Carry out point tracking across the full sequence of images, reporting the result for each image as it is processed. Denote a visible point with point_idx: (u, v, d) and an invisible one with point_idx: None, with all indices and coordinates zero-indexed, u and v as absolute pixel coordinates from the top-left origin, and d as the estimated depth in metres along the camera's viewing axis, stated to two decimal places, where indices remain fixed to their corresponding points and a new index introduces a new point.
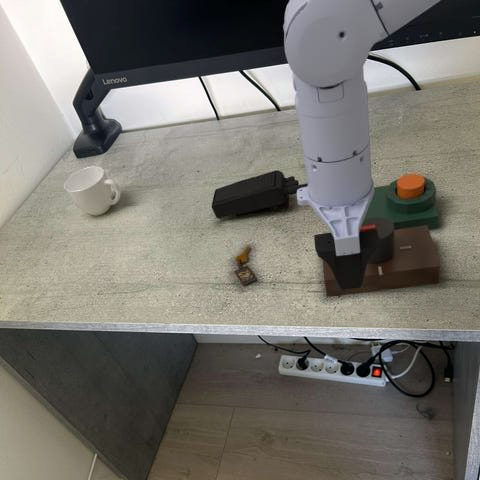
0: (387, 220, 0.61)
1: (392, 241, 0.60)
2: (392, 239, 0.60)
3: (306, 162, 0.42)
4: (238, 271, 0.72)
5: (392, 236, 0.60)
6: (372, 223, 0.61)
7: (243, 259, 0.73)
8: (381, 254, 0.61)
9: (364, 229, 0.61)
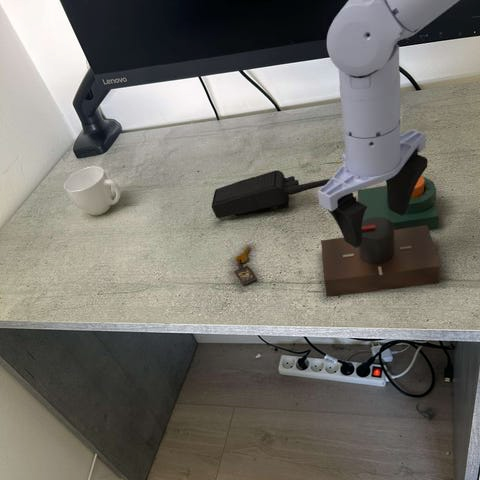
0: (387, 220, 0.61)
1: (392, 241, 0.60)
2: (392, 239, 0.60)
3: None
4: (238, 271, 0.72)
5: (392, 236, 0.60)
6: (372, 223, 0.61)
7: (243, 259, 0.73)
8: (381, 254, 0.61)
9: (364, 229, 0.61)
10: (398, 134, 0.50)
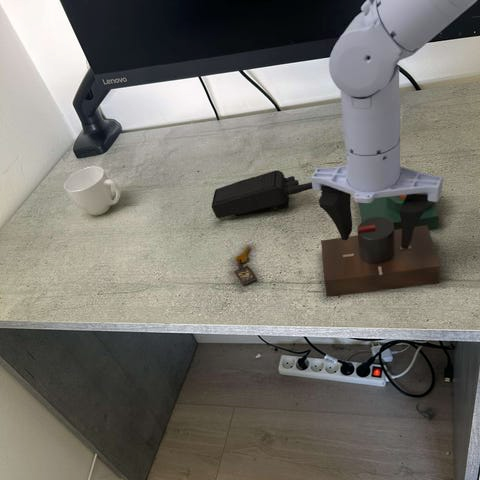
0: (387, 220, 0.61)
1: (392, 241, 0.60)
2: (392, 239, 0.60)
3: (374, 160, 0.51)
4: (238, 271, 0.72)
5: (392, 236, 0.60)
6: (372, 223, 0.61)
7: (243, 259, 0.73)
8: (381, 254, 0.61)
9: (364, 229, 0.61)
10: None
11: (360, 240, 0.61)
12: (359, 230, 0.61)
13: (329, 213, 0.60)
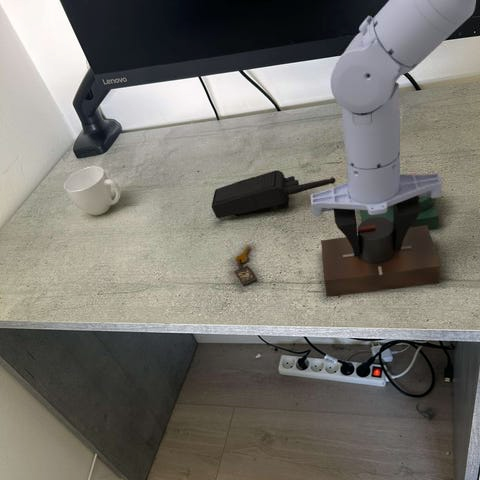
0: (387, 220, 0.61)
1: (392, 241, 0.60)
2: (392, 239, 0.60)
3: (386, 170, 0.52)
4: (238, 271, 0.72)
5: (392, 236, 0.60)
6: (372, 223, 0.61)
7: (243, 259, 0.73)
8: (381, 254, 0.61)
9: (364, 229, 0.61)
10: None
11: (360, 240, 0.61)
12: (359, 230, 0.61)
13: (346, 233, 0.59)
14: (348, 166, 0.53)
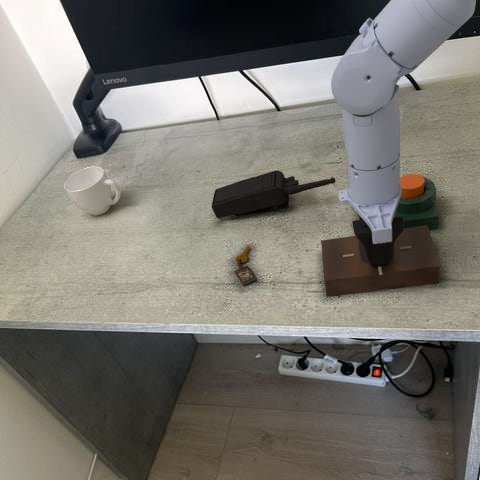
0: None
1: None
2: None
3: (349, 170, 0.54)
4: (238, 271, 0.72)
5: None
6: None
7: (243, 259, 0.73)
8: (359, 247, 0.63)
9: None
10: None
11: None
12: None
13: None
14: None
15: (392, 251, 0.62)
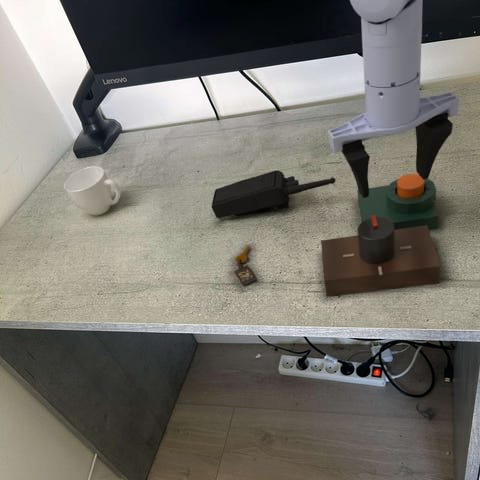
0: (386, 234, 0.59)
1: (368, 248, 0.61)
2: (368, 246, 0.60)
3: None
4: (238, 271, 0.72)
5: (368, 243, 0.60)
6: (383, 225, 0.61)
7: (243, 259, 0.73)
8: (359, 247, 0.63)
9: (372, 220, 0.61)
10: (412, 90, 0.51)
11: None
12: (371, 217, 0.62)
13: None
14: None
15: (392, 251, 0.62)
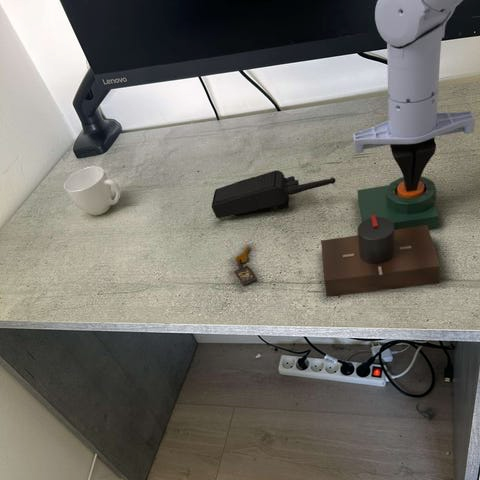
0: (386, 234, 0.59)
1: (368, 248, 0.61)
2: (368, 246, 0.60)
3: None
4: (238, 271, 0.72)
5: (368, 243, 0.60)
6: (383, 225, 0.61)
7: (243, 259, 0.73)
8: (359, 247, 0.63)
9: (372, 220, 0.61)
10: (426, 107, 0.57)
11: None
12: (371, 217, 0.62)
13: None
14: None
15: (392, 251, 0.62)
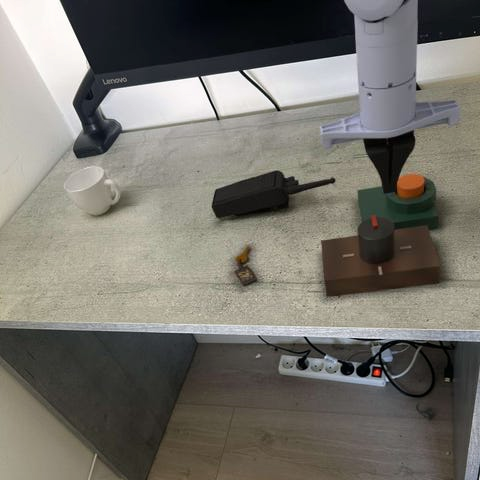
0: (386, 234, 0.59)
1: (368, 248, 0.61)
2: (368, 246, 0.60)
3: None
4: (238, 271, 0.72)
5: (368, 243, 0.60)
6: (383, 225, 0.61)
7: (243, 259, 0.73)
8: (359, 247, 0.63)
9: (372, 220, 0.61)
10: (402, 94, 0.49)
11: None
12: (371, 217, 0.62)
13: None
14: None
15: (392, 251, 0.62)
